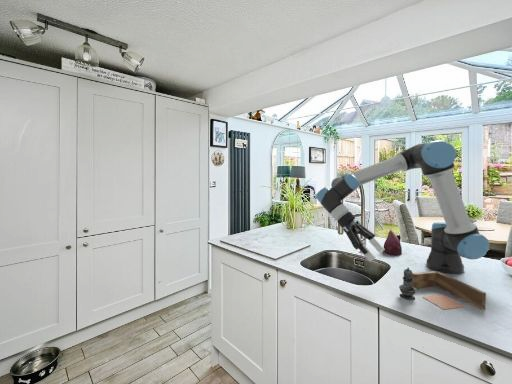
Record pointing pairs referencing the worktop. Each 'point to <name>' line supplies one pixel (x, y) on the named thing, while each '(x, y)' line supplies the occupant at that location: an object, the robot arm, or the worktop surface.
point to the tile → (443, 301)
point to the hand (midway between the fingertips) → (377, 255)
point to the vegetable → (392, 245)
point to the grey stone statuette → (407, 286)
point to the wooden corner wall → (450, 287)
